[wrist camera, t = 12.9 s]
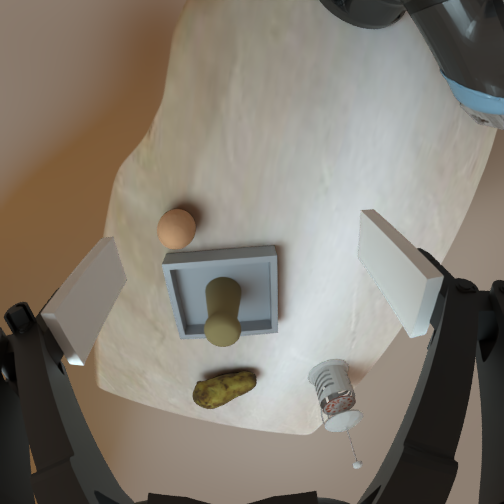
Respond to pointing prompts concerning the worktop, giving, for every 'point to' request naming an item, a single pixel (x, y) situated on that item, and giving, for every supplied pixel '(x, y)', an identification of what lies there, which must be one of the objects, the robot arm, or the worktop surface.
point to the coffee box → (486, 118)
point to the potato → (223, 389)
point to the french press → (336, 397)
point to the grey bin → (232, 266)
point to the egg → (176, 229)
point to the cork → (222, 311)
